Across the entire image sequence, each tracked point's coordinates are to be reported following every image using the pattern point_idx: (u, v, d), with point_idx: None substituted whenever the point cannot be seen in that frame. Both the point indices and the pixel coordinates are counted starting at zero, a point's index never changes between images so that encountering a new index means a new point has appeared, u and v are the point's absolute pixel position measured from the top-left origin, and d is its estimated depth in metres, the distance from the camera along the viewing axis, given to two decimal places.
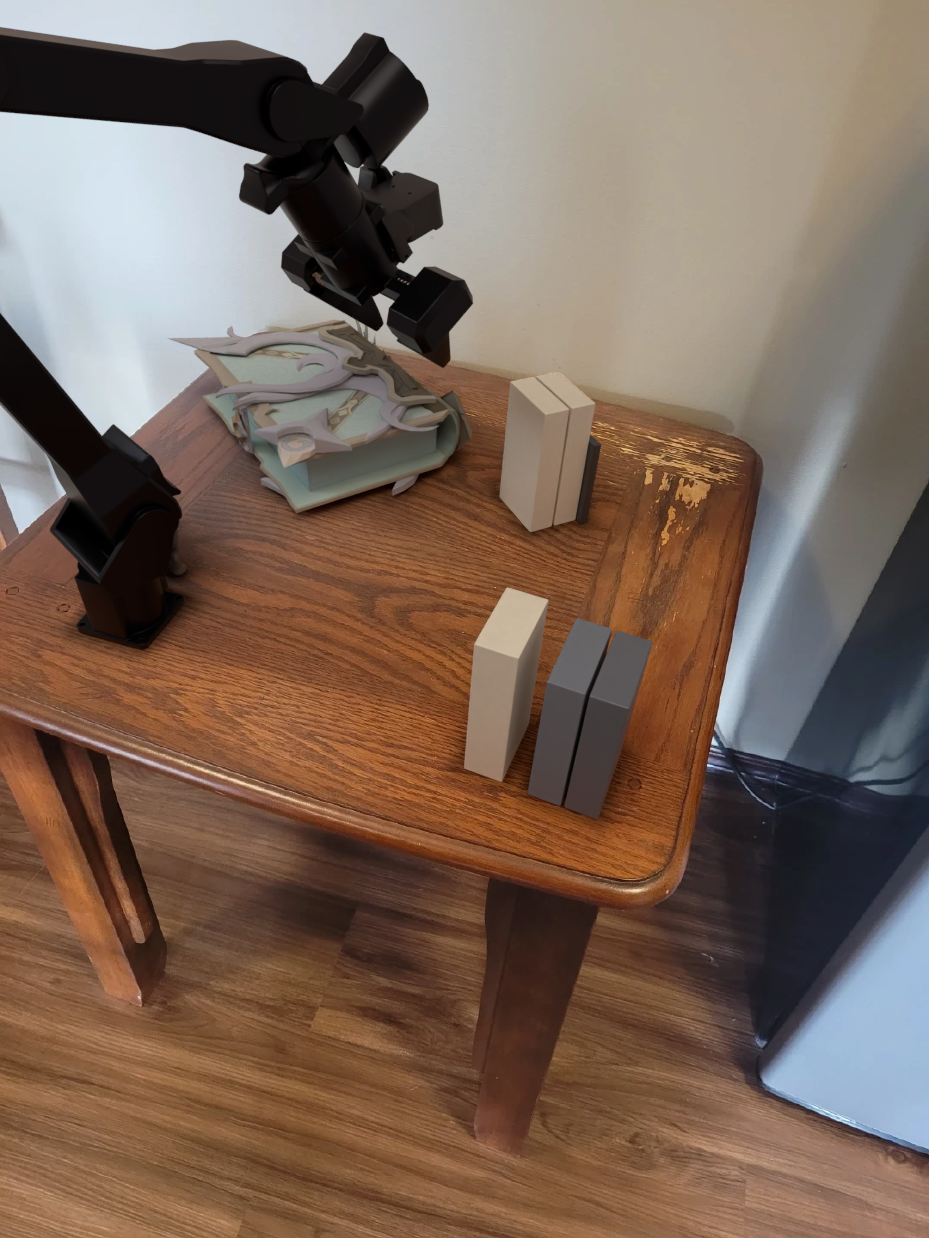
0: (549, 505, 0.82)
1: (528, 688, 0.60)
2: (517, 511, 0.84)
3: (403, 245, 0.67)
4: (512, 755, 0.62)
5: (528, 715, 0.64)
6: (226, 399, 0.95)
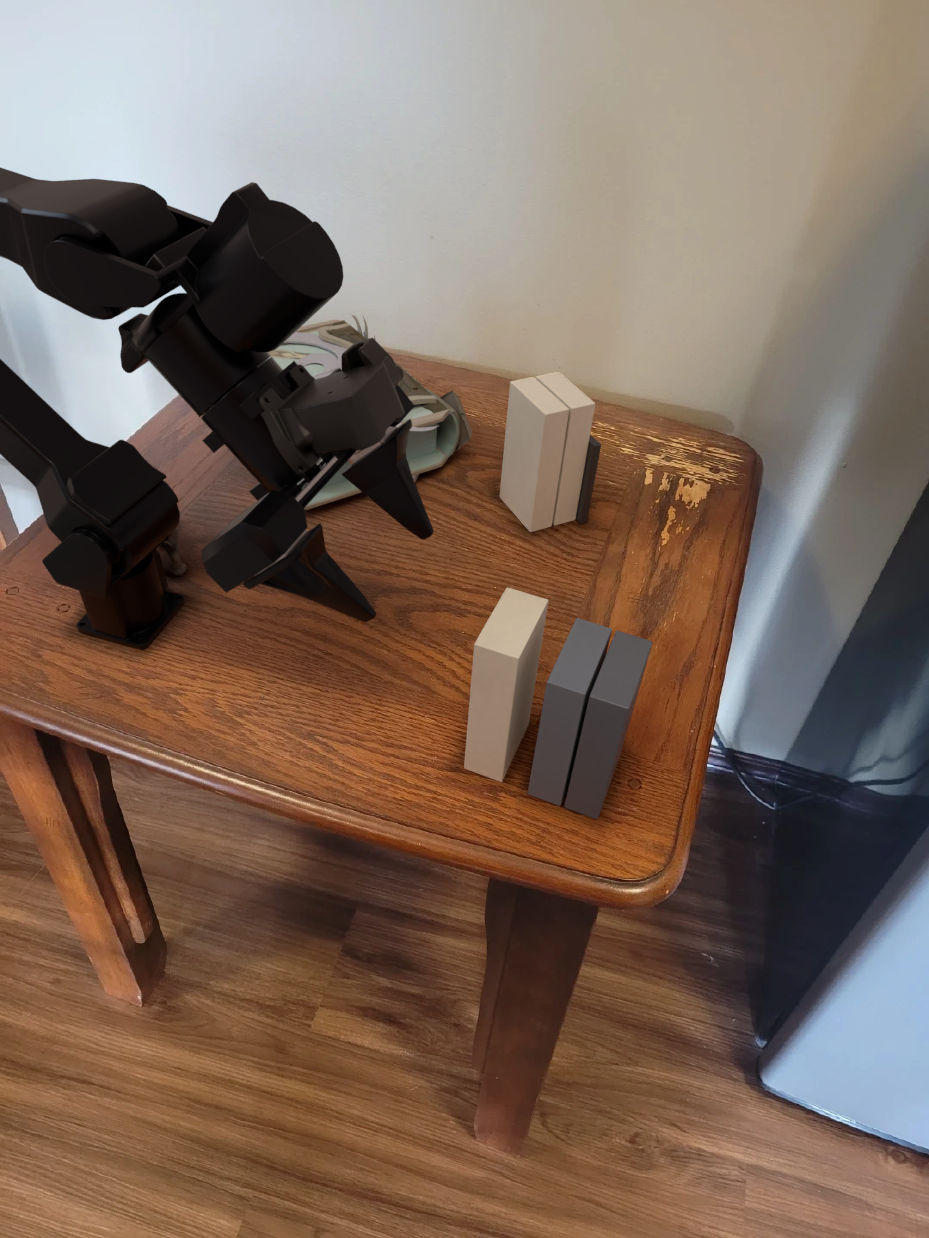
0: (549, 505, 0.82)
1: (528, 688, 0.60)
2: (517, 511, 0.84)
3: (292, 453, 0.49)
4: (512, 755, 0.62)
5: (528, 715, 0.64)
6: None
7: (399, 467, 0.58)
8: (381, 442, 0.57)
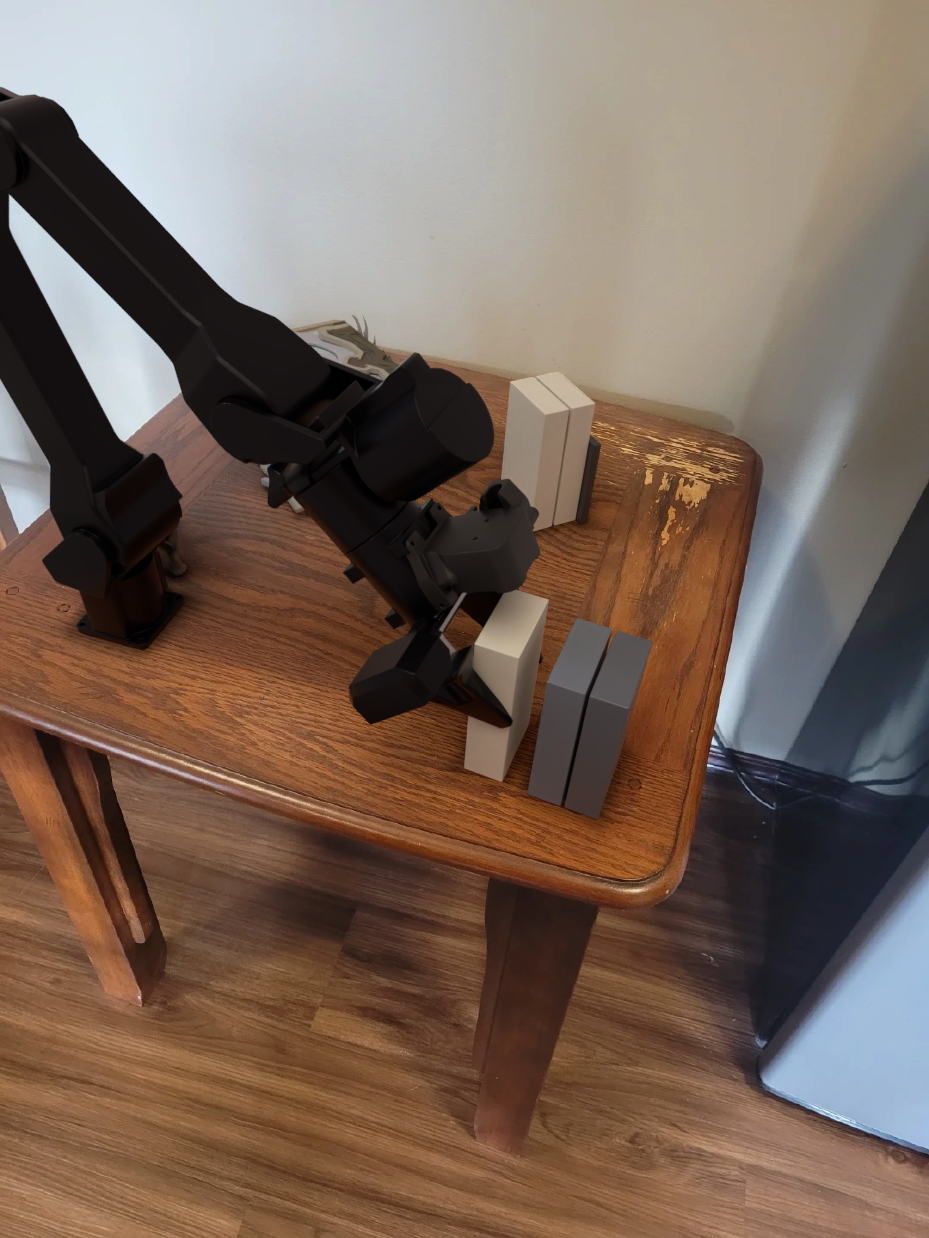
0: (549, 505, 0.82)
1: (528, 688, 0.60)
2: None
3: (434, 592, 0.52)
4: (512, 755, 0.62)
5: (528, 715, 0.64)
6: None
7: None
8: None
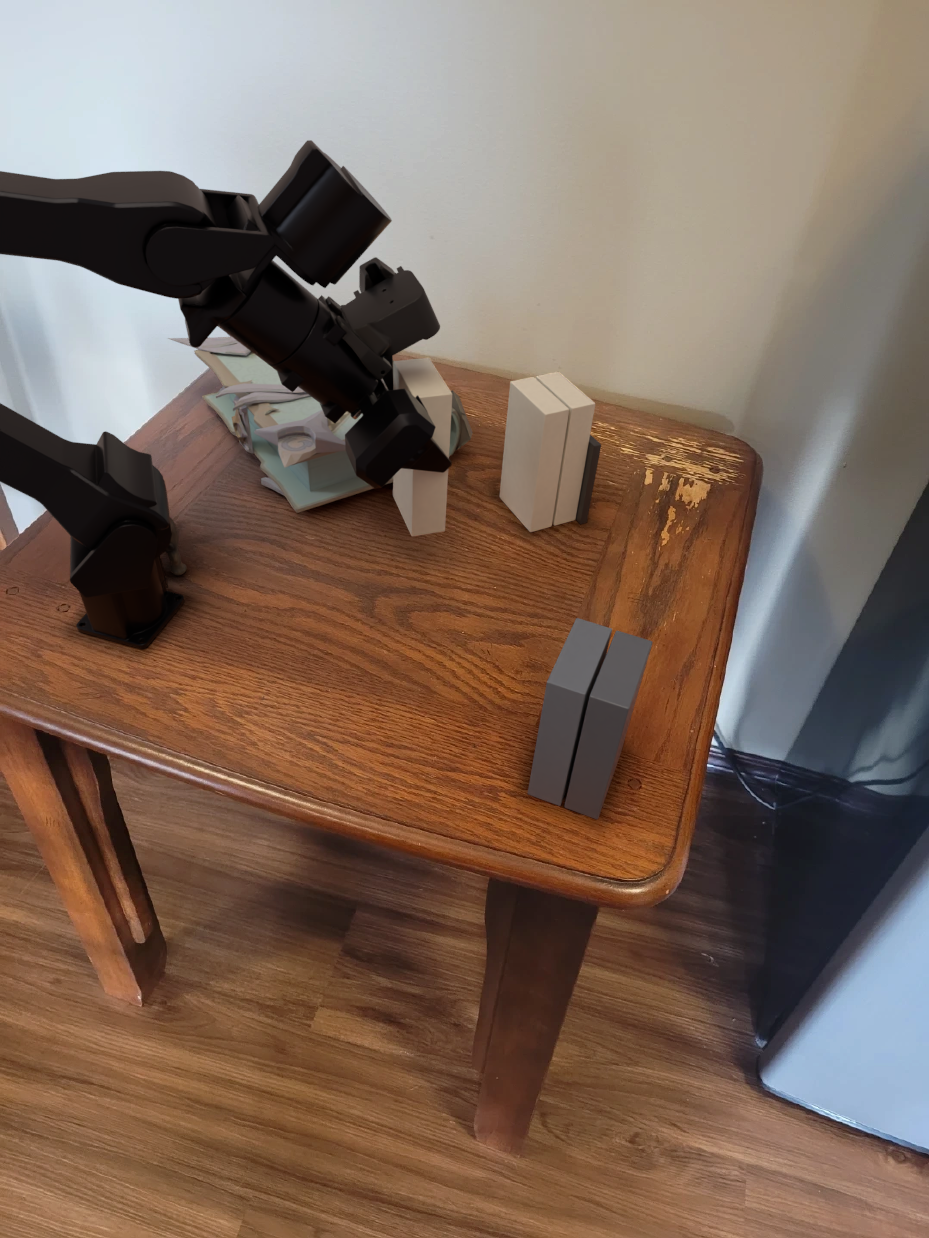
0: (549, 505, 0.82)
1: None
2: (517, 511, 0.84)
3: (375, 362, 0.60)
4: None
5: None
6: (226, 399, 0.95)
7: None
8: None
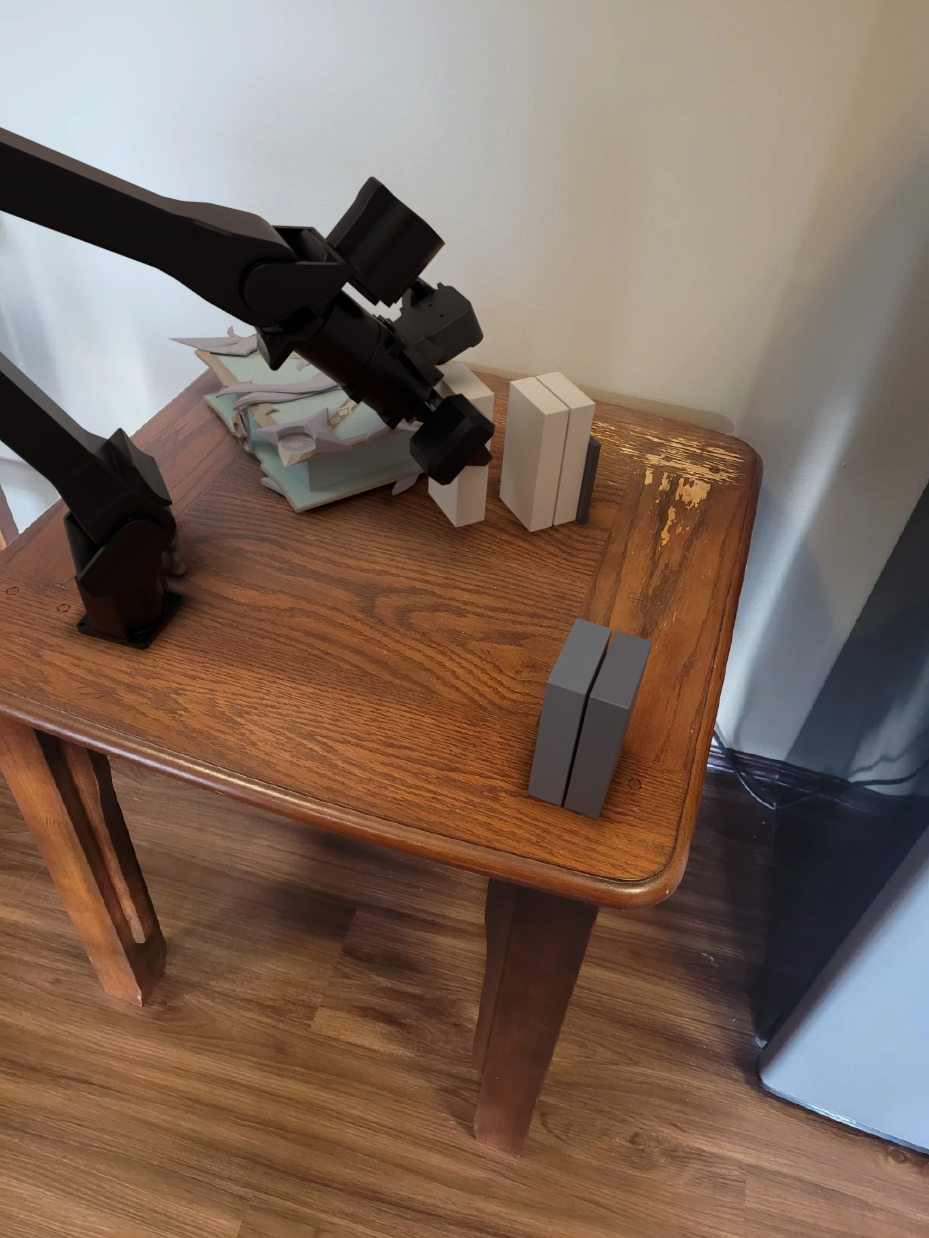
0: (549, 505, 0.82)
1: None
2: (517, 511, 0.84)
3: (431, 371, 0.66)
4: None
5: None
6: (226, 399, 0.95)
7: None
8: None
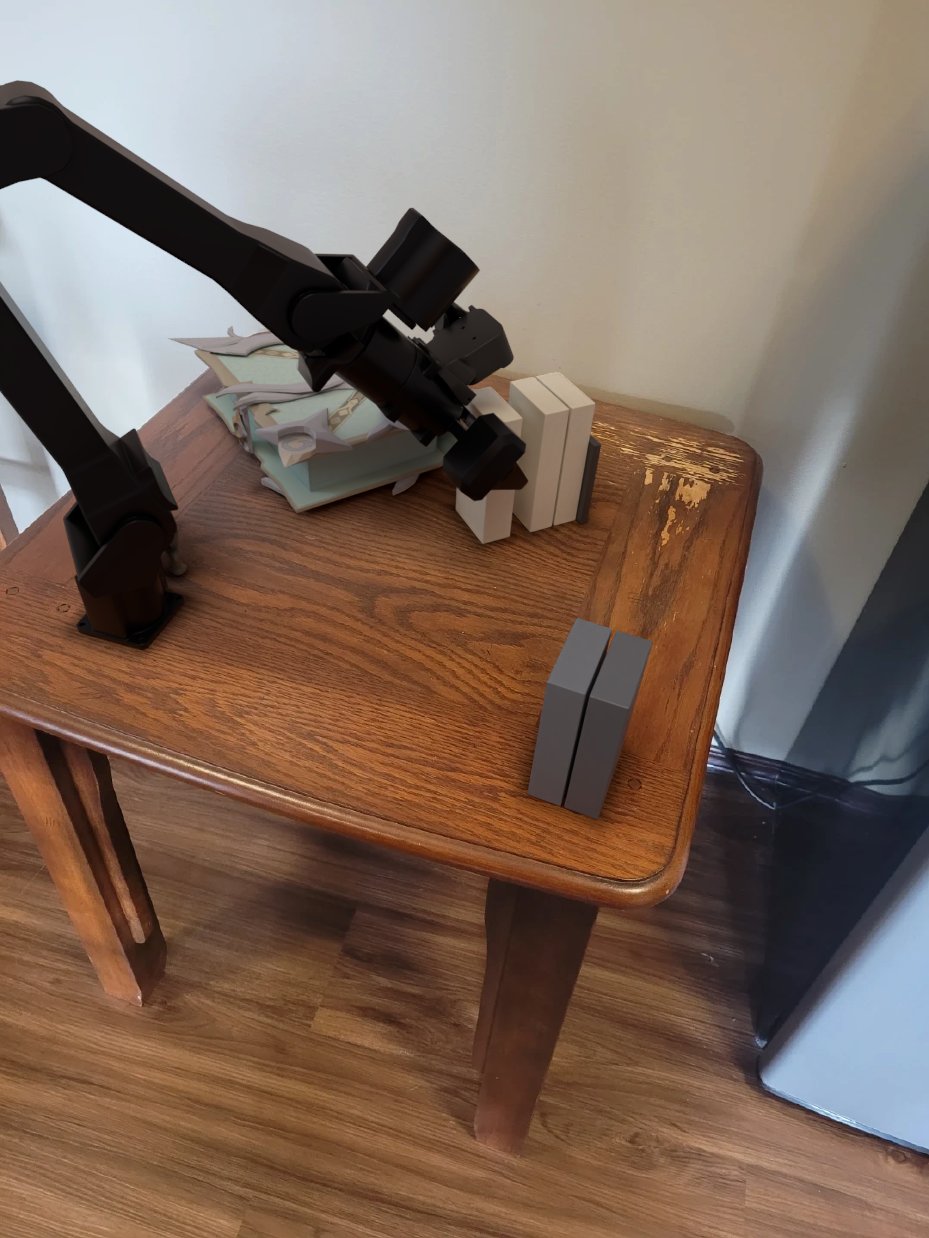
0: (549, 505, 0.82)
1: None
2: (517, 511, 0.84)
3: (464, 391, 0.69)
4: None
5: None
6: (226, 399, 0.95)
7: None
8: None
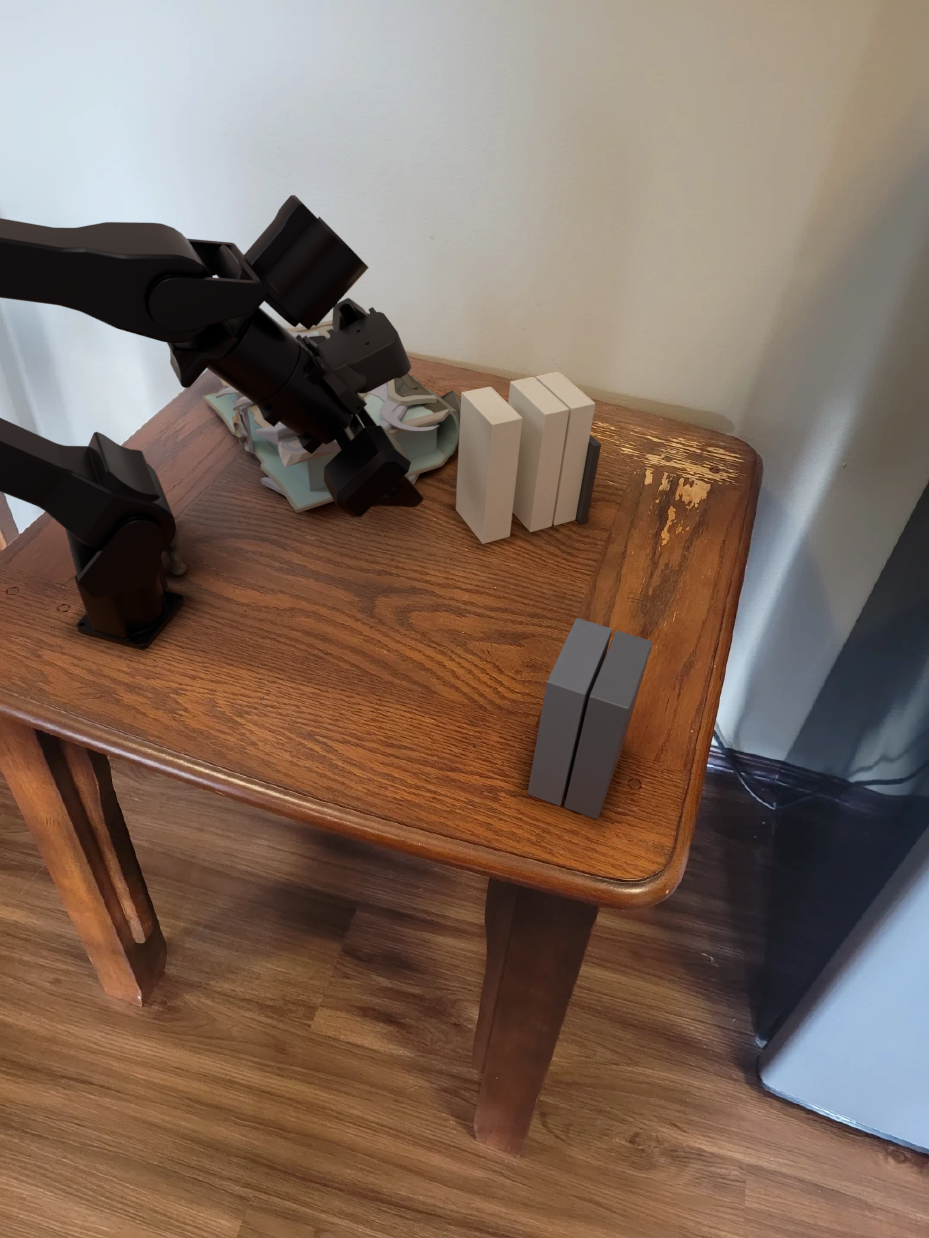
0: (549, 505, 0.82)
1: None
2: (517, 511, 0.84)
3: (352, 399, 0.64)
4: None
5: None
6: (226, 399, 0.95)
7: None
8: None
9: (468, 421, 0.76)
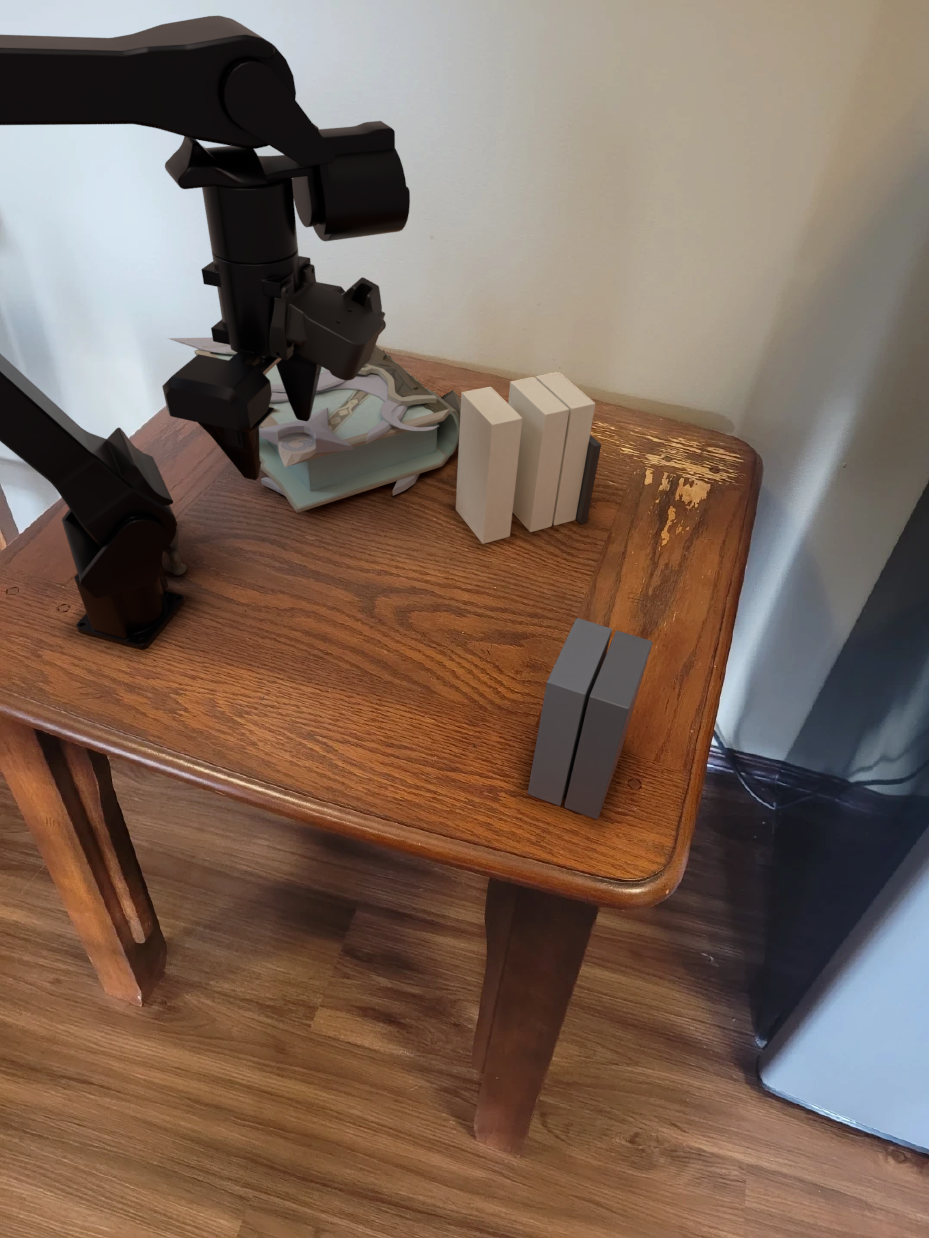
0: (549, 505, 0.82)
1: None
2: (517, 511, 0.84)
3: (279, 341, 0.58)
4: None
5: None
6: None
7: (318, 363, 0.68)
8: None
9: (468, 421, 0.76)
